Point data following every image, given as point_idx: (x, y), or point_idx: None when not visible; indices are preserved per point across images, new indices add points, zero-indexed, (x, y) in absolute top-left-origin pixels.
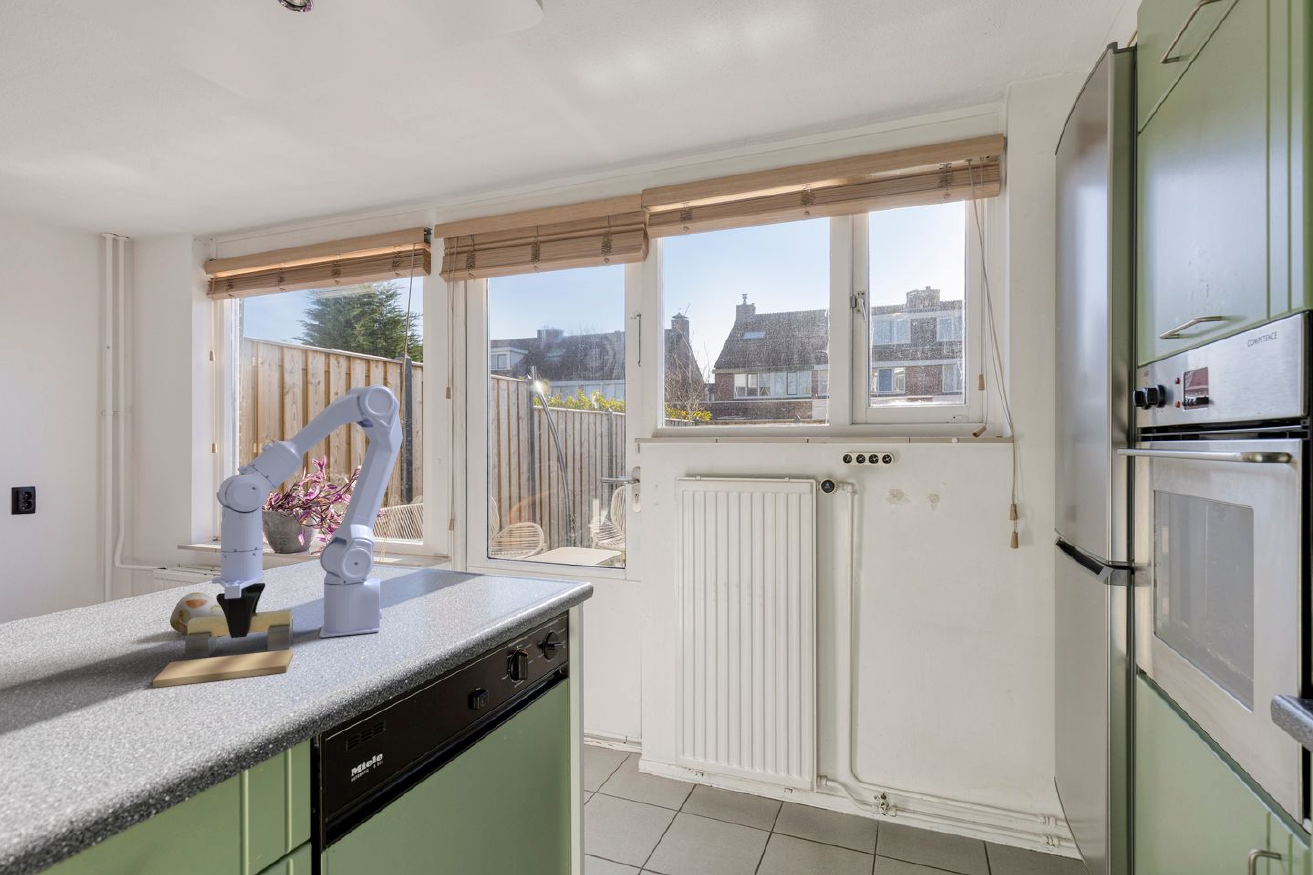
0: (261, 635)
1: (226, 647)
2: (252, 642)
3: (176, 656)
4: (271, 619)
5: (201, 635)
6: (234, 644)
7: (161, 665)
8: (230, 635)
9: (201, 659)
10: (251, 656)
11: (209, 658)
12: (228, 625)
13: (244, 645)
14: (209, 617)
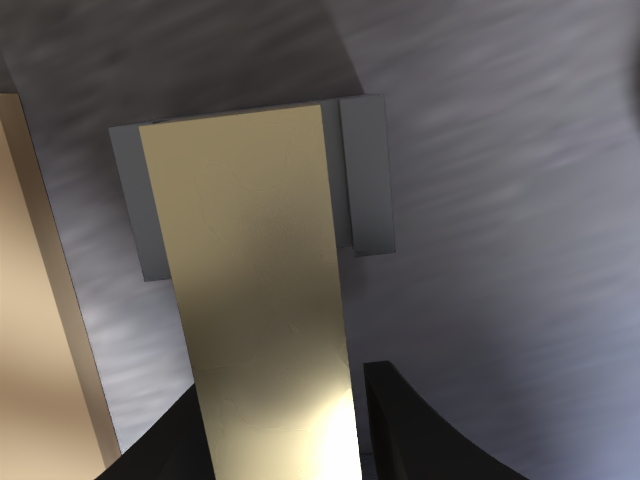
0: (569, 364)
1: (382, 256)
2: (439, 358)
3: (271, 25)
4: None
5: (137, 235)
6: (431, 279)
7: (97, 6)
8: (188, 389)
9: (30, 255)
10: (54, 474)
11: (42, 292)
12: (147, 433)
13: (392, 335)
14: (294, 272)
